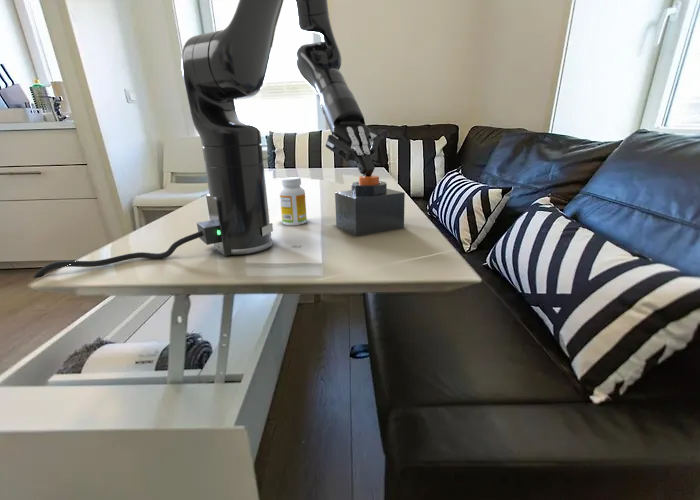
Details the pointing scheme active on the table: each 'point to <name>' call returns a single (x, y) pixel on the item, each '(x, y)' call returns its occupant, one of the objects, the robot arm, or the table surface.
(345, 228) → the push button base
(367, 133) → the robot arm
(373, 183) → the orange push button
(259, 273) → the table surface
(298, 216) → the supplement bottle
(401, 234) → the table surface
